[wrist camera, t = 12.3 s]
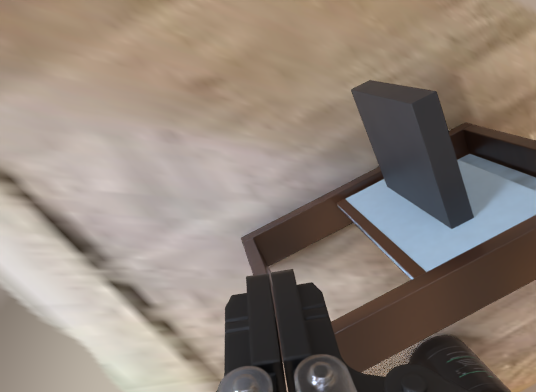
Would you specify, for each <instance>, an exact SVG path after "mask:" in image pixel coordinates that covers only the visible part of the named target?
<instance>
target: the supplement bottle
mask: <svg viewBox="0 0 536 392" xmlns="http://www.w3.org/2000/svg"><path fill="white" fill-rule="evenodd" d="M409 364H415V365H420V366H423V367H426V368H428V369H430V370H432V371H433V372H435V373H437V374H439V375H440V376H442V377H444V378H446V379H447V380H449V381H451V382H453V383H454V384H456V385H458V386H460V387H461V388H463V389H465V390H467V391H468V392H511V391H510V390H509V389H508V388H507V387H506V386H505V385H504V384H503V383H502V382H501V381H500V380H499V378H498V377H497V376H496V375H495V374H494V373H493V372H492V371H491V370H490V369H489V368H488V367H487V366H486V365H485V364H484V363H483V362H482V361H481V360H480V359H479V358H478V357H477V356H476V355H475V354H474V353H473V352H472V351H471V350H470V349H469V348H468V347H467V346H466V345H465V344H464V343H463V342H462V341H461V340H459V339H457V338H455V337H452V336H437V337H434V338H431V339H429V340H427V341H425V342H424V343H422V344H421V345H420V346H419V347H418V348H417V349H416V350H415V352H414V353H413V355H412V356H411V359H410V361H409Z"/></svg>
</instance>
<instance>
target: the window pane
mask: <svg viewBox="0 0 536 392" xmlns="http://www.w3.org/2000/svg"><path fill="white" fill-rule="evenodd" d="M351 92H352V94H353V97H354V100H355V102H356V105H357V108H358V110H359V113H360V116H361V118H362V121H363V124H364V126H365V129H366V132H367V134H368V137H369V140H370V142H371V145H372V148H373V150H374V153H375V156H376V158H377V161H378V164H379V166H380V169H381V172H382V174H383V177H384V179H383V180H381V181H379V182H377V183H375V184H373V185H371V186H369V187H367V188H365V189H363V190H361V191H360V192H358V193H356V194H354V195H352V196H350V197H348V198H346V199H343V200H341V201H339V202H337V205H338V208H339V209H340V210H341V211H342V212H343V213H344V214H345V215H346V216H347V217H348V218H349V219H350V220H351V221H352V222H353V223H354V224H355V225H356V226H357V227H358V228H359V229H360V230H361V231H362V232H363V233H364V234H365V235H367V236H368V237H369V238H370V239H371V240H372V241H373V242H374V243H375V244H376V245H377V246H378V247H379V248H380V249H381V250H382V251H383V252H384V253H385V254H386V255H387V256H388V257H389V258H390V259H391V260H392V261H393V262H394V263H395V264H396V265H397V266H398V267H399V268H400V269H401V270H402V271H403V272H404V273H405V274H406V275H407V276H408V277H409V278H410V279H411V280H412V279H414V278H416V277H418V276H420V275H422V274H424V273H426V272H427V271H429V270H431V269H433V268H435V267H437V266H439V265H441V264H443V263H445V262H446V261H448V260H450V259H452V258H454V257H456V256H458V255H460V254H462V253H464V252H466V251H467V250H469V249H471V248H473V247H475V246H477V245H479V244H481V243H483V242H485V241H487V240H488V239H490V238H492V237H494V236H496V235H498V234H500V233H502V232H504V231H506V230H507V229H509V228H511V227H513V226H515V225H517V224H519V223H521V222H523V221H525V220H527V219H528V218H530V217H532V216H534V215H536V191H535V190H533V189H530V188H528V187H525V186H523V185H520V184H518V183H515V182H513V181H510V180H508V179H505V178H503V177H500V176H497V175H495V174H492V173H490V172H487V171H485V170H482V169H480V168H477V167H475V166H472V165H470V164H467V163H465V162H462V161H460V160H457V158H456V155H455V152H454V148H453V145H452V141H451V138H450V135H449V131H448V128H447V125H446V121H445V118H444V115H443V111H442V108H441V105H440V101H439V98H438V94H437V92H436V91H432V90H426V89H419V88H413V87H407V86H401V85H395V84H389V83H383V82H377V81H371V80H369V81H367V82H365V83H363V84H361V85H359V86H357V87H355V88H353V89H351Z"/></svg>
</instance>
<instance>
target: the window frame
mask: <svg viewBox="0 0 536 392" xmlns="http://www.w3.org/2000/svg"><path fill="white" fill-rule="evenodd" d="M449 135H450V138H451V141H452V145H453V148H454V152H455V155H456V158H457V160H460V161H462V162H465V163H467V164H470V165H472V166H475V167H477V168H480V169H482V170H485V171H487V172H490V173H492V174H495V175H497V176H500V177H503V178H505V179H508V180H510V181H513V182H515V183H518V184H520V185H523V186H525V187H528V188H530V189H533V190H535V191H536V141H535V140H532V139H528V138H524V137H520V136H516V135H512V134H508V133H504V132H500V131H496V130H492V129H489V128H485V127H481V126H477V125H472V124H469V123H464V124H462V125H460V126H458V127H456V128H454V129H452V130H450V131H449ZM383 179H384V177H383V174H382V172H381V169H380V167H378V168H376V169H374V170H372V171H370V172H368V173H366V174H364V175H362V176H361V177H359V178H357V179H355V180H353V181H351V182H349V183H347V184H345V185H343V186H341V187H339V188H337V189H335V190H333V191H331V192H329V193H327V194H326V195H324V196H322V197H320V198H318V199H316V200H314V201H312V202H310V203H308V204H306V205H304V206H302V207H300V208H298V209H296V210H294V211H292V212H291V213H289V214H287V215H285V216H283V217H281V218H279V219H277V220H275V221H273V222H271V223H269V224H267V225H265V226H263V227H261V228H259V229H257V230H256V231H254V232H252V233H250V234H248V235H246V236H244V237H242V238H241V240H242V243H243V246H244V249H245V252H246V255H247V258H248V261H249V264H250V267H251V270H252V273H253V275H259V274H266V273H269V278H270V284H271V290H272V296H273V302H274V308H275V314H276V307H275V300H274V293H273V286H272V279H271V271H270V269H269V267H268V266H270V265H272V264H274V263H276V262H278V261H280V260H282V259H284V258H286V257H288V256H290V255H292V254H294V253H295V252H297V251H299V250H301V249H303V248H305V247H307V246H309V245H311V244H313V243H315V242H317V241H319V240H321V239H323V238H324V237H326V236H328V235H330V234H332V233H334V232H336V231H338V230H340V229H342V228H344V227H346V226H348V225H350V224H352V223H353V222H352V221H351V220H350V219H349V218H348V217H347V216H346V215H345V214H344V213H343V212H342V211H341V210H340V209H339V208H338V205H337V202H339V201H341V200H343V199H346V198H348V197H350V196H352V195H354V194H356V193H358V192H360V191H361V190H363V189H365V188H367V187H369V186H371V185H373V184H375V183H377V182H379V181H381V180H383ZM534 280H536V215H534V216H532V217H530V218H528V219H527V220H525V221H523V222H521V223H519V224H517V225H515V226H513V227H511V228H509V229H507V230H506V231H504V232H502V233H500V234H498V235H496V236H494V237H492V238H490V239H488V240H487V241H485V242H483V243H481V244H479V245H477V246H475V247H473V248H471V249H469V250H467V251H466V252H464V253H462V254H460V255H458V256H456V257H454V258H452V259H450V260H448V261H446V262H445V263H443V264H441V265H439V266H437V267H435V268H433V269H431V270H429V271H427V272H426V273H424V274H422V275H420V276H418V277H416V278H414V279H412V280H410V281H408V282H406V283H405V284H403V285H401V286H399V287H397V288H395V289H393V290H391V291H389V292H387V293H386V294H384V295H382V296H380V297H378V298H376V299H374V300H372V301H370V302H368V303H366V304H365V305H363V306H361V307H359V308H357V309H355V310H353V311H351V312H349V313H347V314H345V315H344V316H342V317H340V318H338V319H336V320H334V321H332V322H331V324H332V328H333V331H334V335H335V338H336V341H337V345H338V348H339V351H340V354H341V357H342V359H343V360H344V362H345V363H346V364H347V365H348V366H349V367H351V368H352V369H354V370H356V371H358V372H360V373H361V372H363V371H364V370H366V369H368V368H370V367H372V366H374V365H376V364H378V363H380V362H381V361H383V360H385V359H387V358H389V357H391V356H393V355H395V354H397V353H398V352H400V351H402V350H404V349H406V348H408V347H410V346H412V345H414V344H415V343H417V342H419V341H421V340H423V339H425V338H427V337H429V336H431V335H432V334H434V333H436V332H438V331H440V330H442V329H444V328H446V327H447V326H449V325H451V324H453V323H455V322H457V321H459V320H461V319H463V318H464V317H466V316H468V315H470V314H472V313H474V312H476V311H478V310H480V309H481V308H483V307H485V306H487V305H489V304H491V303H493V302H495V301H497V300H498V299H500V298H502V297H504V296H506V295H508V294H510V293H512V292H514V291H515V290H517V289H519V288H521V287H523V286H525V285H527V284H529V283H530V282H532V281H534ZM276 320H277V314H276ZM277 327H278V321H277ZM278 334H279V328H278ZM279 341H280V335H279ZM280 348H281V342H280ZM281 355H282V349H281ZM282 362H283V356H282ZM283 363H284V362H283Z"/></svg>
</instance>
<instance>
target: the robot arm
mask: <svg viewBox="0 0 536 392" xmlns="http://www.w3.org/2000/svg"><path fill="white" fill-rule="evenodd" d="M271 279H272V286H273V293H274V300H275V307H276V314H277V320H276V314H275V308H274V302H273V296H272V290H271V284H270V278H269V273H266V274H259V275H253V276H247V277H246V283H247V293H244V294H237V295H232V296H231V298H230V300H229V302H228V304H227V305H226V307H225V373H224V378H223V379H222V381H221V382H220V384H219V387H218V390H217V391H216V392H287V391H286V384H285V377H284V370H283V363H282V356H283V362H284V368H285V374H286V381H287V387H288V392H468V391H467V390H465V389H463V388H461V387H460V386H458V385H456V384H454V383H453V382H451V381H449V380H447V379H446V378H444V377H442V376H440V375H439V374H437V373H435V372H433V371H432V370H430V369H428V368H426V367H423V366H420V365H415V364H404V365H400V366H397V367H395V368H393V369H392V370H391V371H389V373H388V374H387V375H386V377H382V376H374V375H367V374H363V373H360V372H358V371H356V370H354V369H352V368H351V367H349V366H348V365H347V364H346V363H345V362H344V360H343V359H342V357H341V354H340V351H339V348H338V345H337V341H336V338H335V335H334V331H333V328H332V324H331V321H330V318H329V314H328V311H327V308H326V304H325V301H324V297H323V294H322V292H321V291H320V290H319V289H318V288H317V287H316V286H315V285H314V284H313V283H306V284H299V285H296V280H295V276H294V271H293V269H290V270H284V271H278V272H271ZM277 321H278V327H277ZM278 328H279V334H278ZM279 335H280V341H279ZM280 342H281V348H280ZM281 349H282V355H281Z"/></svg>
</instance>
